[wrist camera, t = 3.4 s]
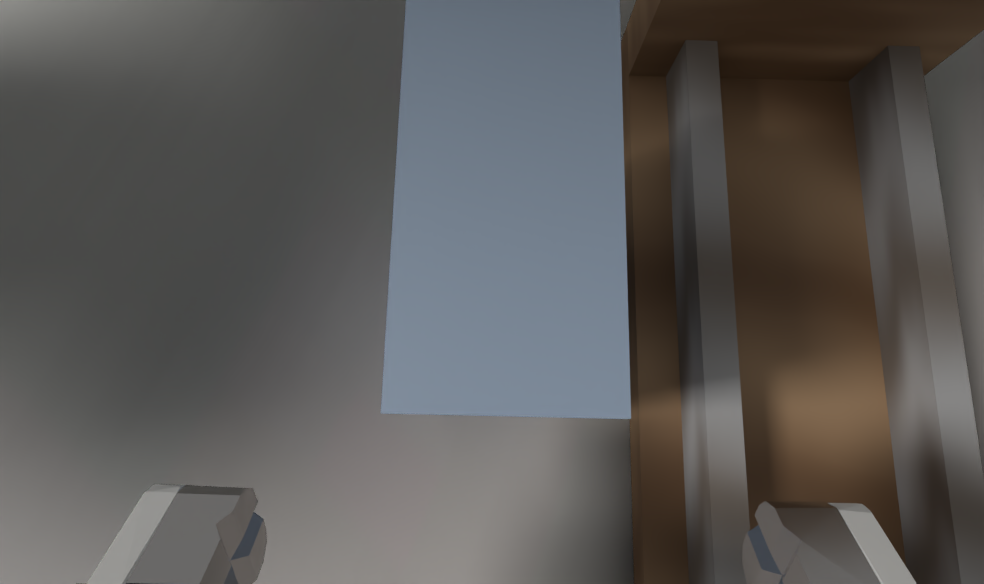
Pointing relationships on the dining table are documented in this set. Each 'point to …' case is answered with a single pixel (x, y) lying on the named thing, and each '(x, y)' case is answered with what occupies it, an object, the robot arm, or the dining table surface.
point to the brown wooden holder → (793, 281)
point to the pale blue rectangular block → (509, 213)
